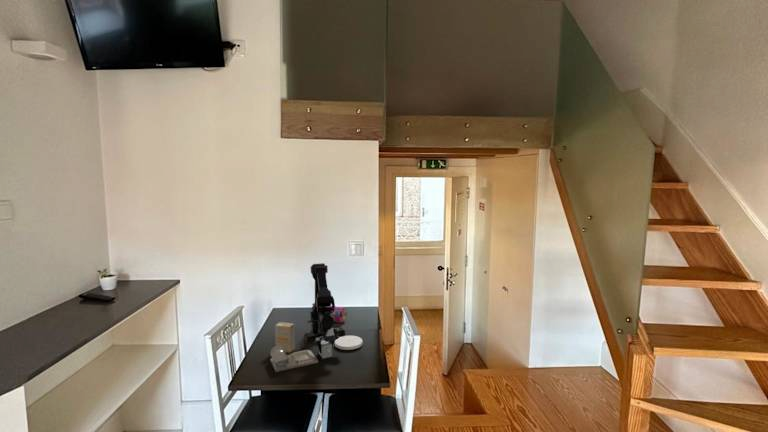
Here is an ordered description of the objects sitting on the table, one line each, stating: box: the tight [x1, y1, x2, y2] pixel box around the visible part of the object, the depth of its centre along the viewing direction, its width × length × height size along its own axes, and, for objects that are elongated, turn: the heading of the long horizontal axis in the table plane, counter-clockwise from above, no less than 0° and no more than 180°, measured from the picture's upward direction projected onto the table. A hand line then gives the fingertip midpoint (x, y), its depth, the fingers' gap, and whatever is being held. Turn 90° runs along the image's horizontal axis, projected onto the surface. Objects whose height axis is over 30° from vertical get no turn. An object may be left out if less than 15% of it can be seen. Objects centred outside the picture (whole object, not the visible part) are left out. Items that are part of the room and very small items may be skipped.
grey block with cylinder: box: [318, 339, 333, 359], centre depth 181 cm, size 4×8×6 cm, turn 28°
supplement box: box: [274, 321, 296, 354], centre depth 187 cm, size 8×5×13 cm, turn 71°
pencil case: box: [309, 302, 348, 323], centre depth 228 cm, size 22×9×9 cm, turn 65°
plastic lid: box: [334, 335, 363, 351], centre depth 193 cm, size 14×14×2 cm
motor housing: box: [269, 345, 319, 373], centre depth 175 cm, size 19×12×7 cm, turn 118°
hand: (325, 352), depth 182 cm, fingers closed on grey block with cylinder, 4 cm apart
